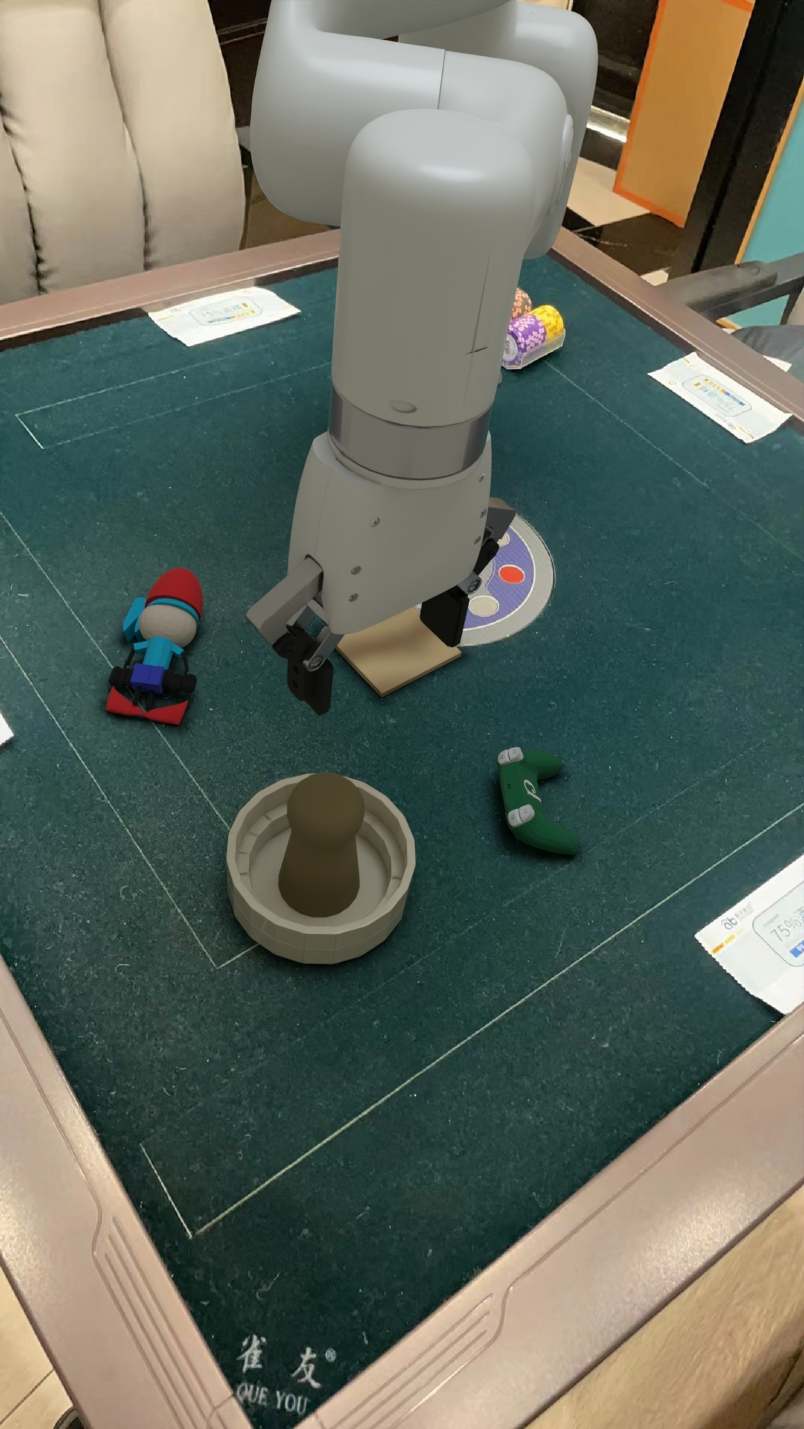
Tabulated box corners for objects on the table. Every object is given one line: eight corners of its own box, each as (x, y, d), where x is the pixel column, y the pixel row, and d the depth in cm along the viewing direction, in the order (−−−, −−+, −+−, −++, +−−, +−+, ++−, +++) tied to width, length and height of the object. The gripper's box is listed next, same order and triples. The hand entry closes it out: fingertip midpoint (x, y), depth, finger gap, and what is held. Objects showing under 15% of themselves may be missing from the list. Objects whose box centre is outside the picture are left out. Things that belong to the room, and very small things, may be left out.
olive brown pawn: (364, 852, 79) (378, 765, 71) (354, 923, 75) (367, 840, 67) (285, 840, 79) (289, 752, 71) (271, 911, 75) (273, 826, 67)
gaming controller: (526, 776, 88) (484, 746, 85) (564, 757, 87) (523, 725, 83) (544, 871, 83) (501, 843, 79) (585, 852, 81) (543, 823, 77)
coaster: (320, 633, 94) (321, 629, 94) (399, 596, 98) (400, 592, 98) (381, 698, 90) (382, 693, 89) (460, 656, 94) (461, 652, 94)
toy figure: (191, 736, 87) (227, 592, 94) (181, 706, 83) (220, 557, 90) (102, 726, 87) (145, 584, 95) (87, 696, 83) (134, 549, 91)
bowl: (194, 865, 78) (191, 827, 74) (338, 784, 84) (342, 746, 80) (295, 1002, 72) (297, 969, 68) (443, 905, 78) (453, 870, 74)
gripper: (493, 330, 55) (446, 575, 68) (205, 427, 46) (215, 684, 59) (594, 403, 51) (525, 646, 64) (303, 521, 43) (291, 772, 56)
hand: (376, 664), depth 62 cm, fingers open, 9 cm apart
